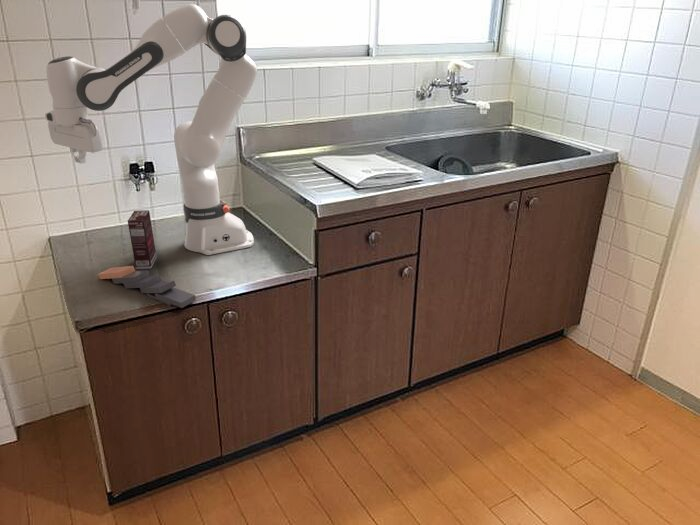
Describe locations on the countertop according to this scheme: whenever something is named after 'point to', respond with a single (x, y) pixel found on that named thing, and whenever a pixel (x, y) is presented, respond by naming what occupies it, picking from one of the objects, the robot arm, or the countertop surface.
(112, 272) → the domino
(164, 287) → the domino
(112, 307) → the countertop surface
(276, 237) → the countertop surface
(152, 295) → the domino
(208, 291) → the countertop surface
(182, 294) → the domino
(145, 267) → the supplement box
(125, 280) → the domino
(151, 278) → the domino
